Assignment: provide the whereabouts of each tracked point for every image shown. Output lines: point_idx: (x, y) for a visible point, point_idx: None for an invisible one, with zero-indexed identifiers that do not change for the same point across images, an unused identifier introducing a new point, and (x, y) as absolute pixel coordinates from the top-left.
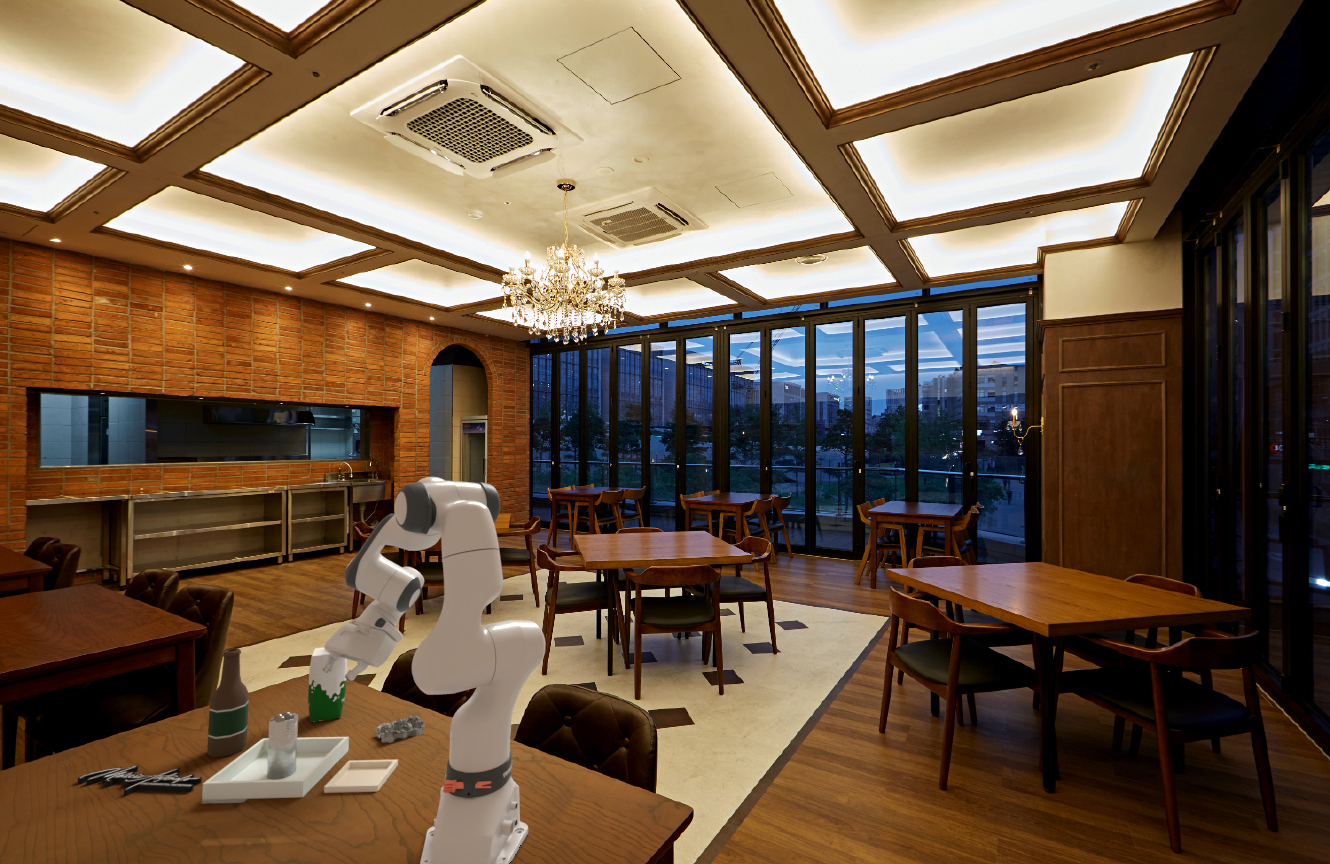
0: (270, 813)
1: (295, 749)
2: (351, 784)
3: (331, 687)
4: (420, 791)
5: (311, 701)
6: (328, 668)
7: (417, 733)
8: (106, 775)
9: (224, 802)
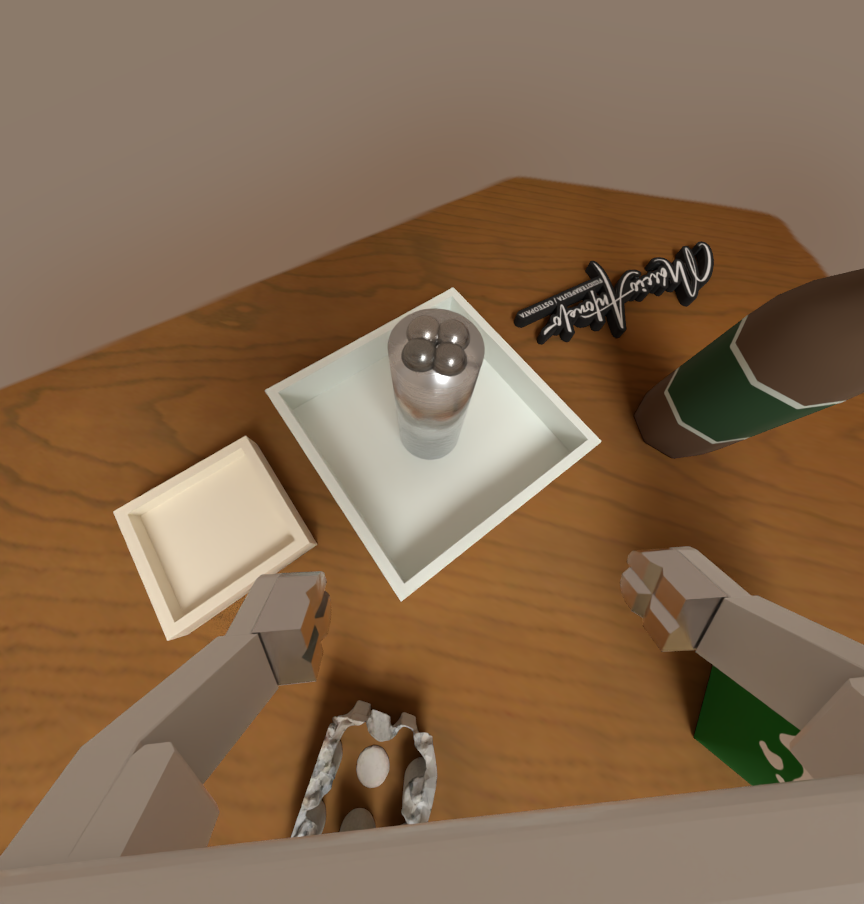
0: (300, 361)
1: (403, 425)
2: (189, 476)
3: None
4: (27, 592)
5: None
6: (652, 587)
7: None
8: (681, 263)
9: None
